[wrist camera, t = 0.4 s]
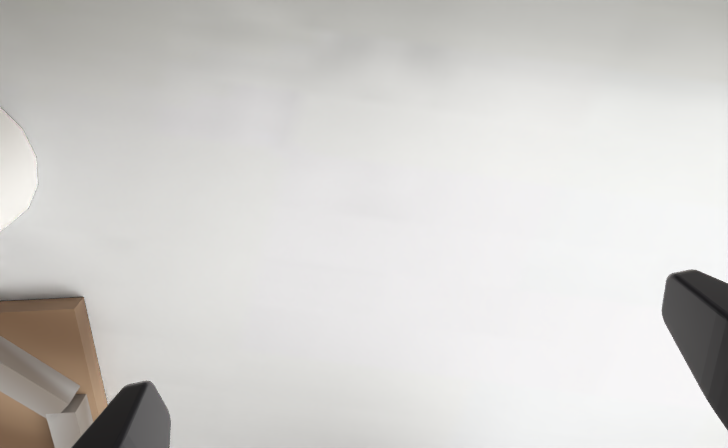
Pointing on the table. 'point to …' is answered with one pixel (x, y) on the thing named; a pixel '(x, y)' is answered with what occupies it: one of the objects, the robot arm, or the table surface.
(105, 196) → the table surface
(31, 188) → the white cup
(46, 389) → the ring board
